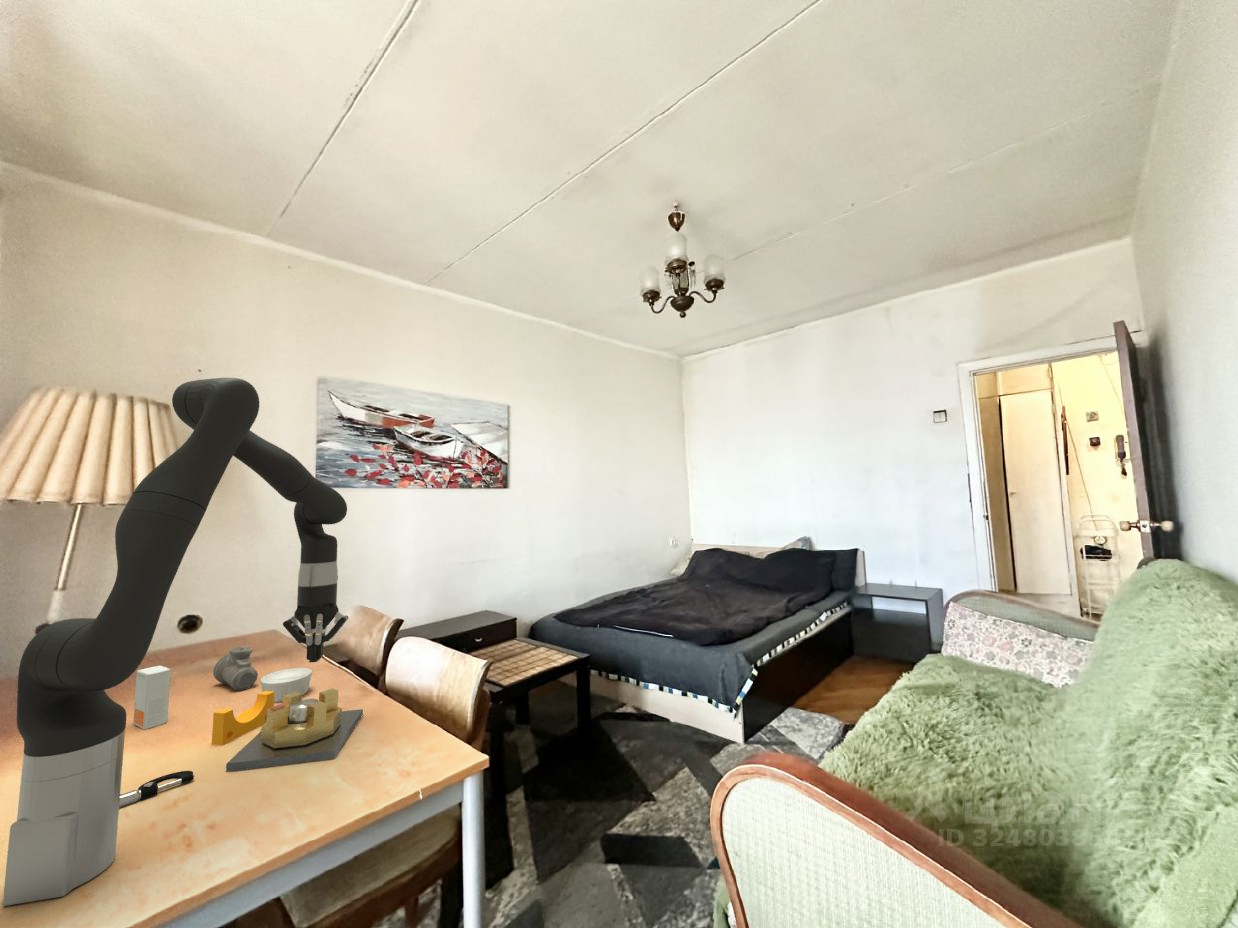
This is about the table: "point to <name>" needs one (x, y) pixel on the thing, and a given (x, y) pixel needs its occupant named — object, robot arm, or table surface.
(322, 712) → the ring nut
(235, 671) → the pipe fitting
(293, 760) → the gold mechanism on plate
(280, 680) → the ramekin
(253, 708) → the pipe clamp
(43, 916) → the table surface
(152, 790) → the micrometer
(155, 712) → the skincare box
